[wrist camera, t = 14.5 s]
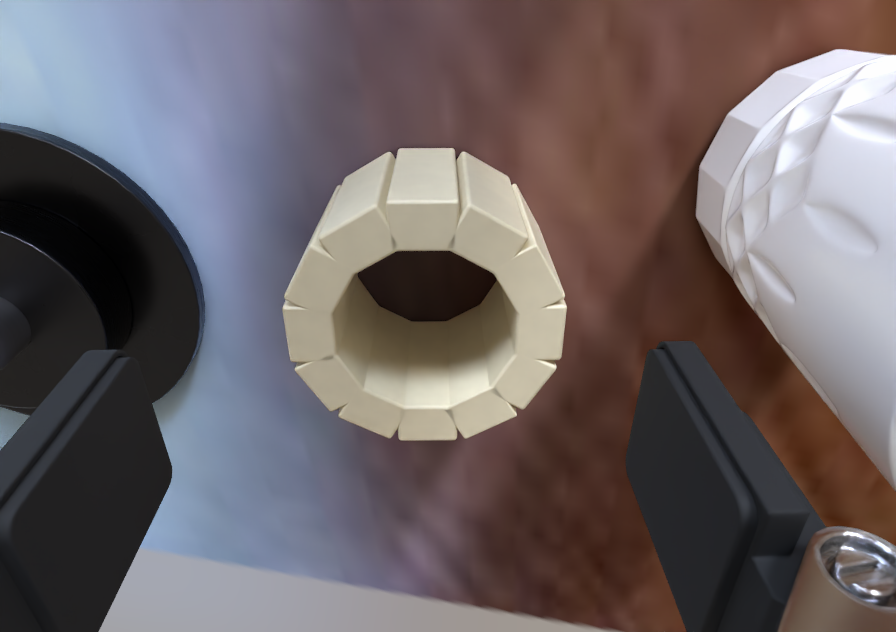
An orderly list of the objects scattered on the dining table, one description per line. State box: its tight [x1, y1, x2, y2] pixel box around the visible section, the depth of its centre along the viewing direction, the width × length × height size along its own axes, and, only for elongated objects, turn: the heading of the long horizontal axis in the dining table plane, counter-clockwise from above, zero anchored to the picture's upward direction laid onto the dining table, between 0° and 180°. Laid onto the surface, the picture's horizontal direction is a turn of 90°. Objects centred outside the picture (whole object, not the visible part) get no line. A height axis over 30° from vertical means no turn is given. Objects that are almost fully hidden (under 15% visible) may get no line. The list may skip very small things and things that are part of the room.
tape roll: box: [282, 148, 567, 441], centre depth 17 cm, size 7×7×4 cm
